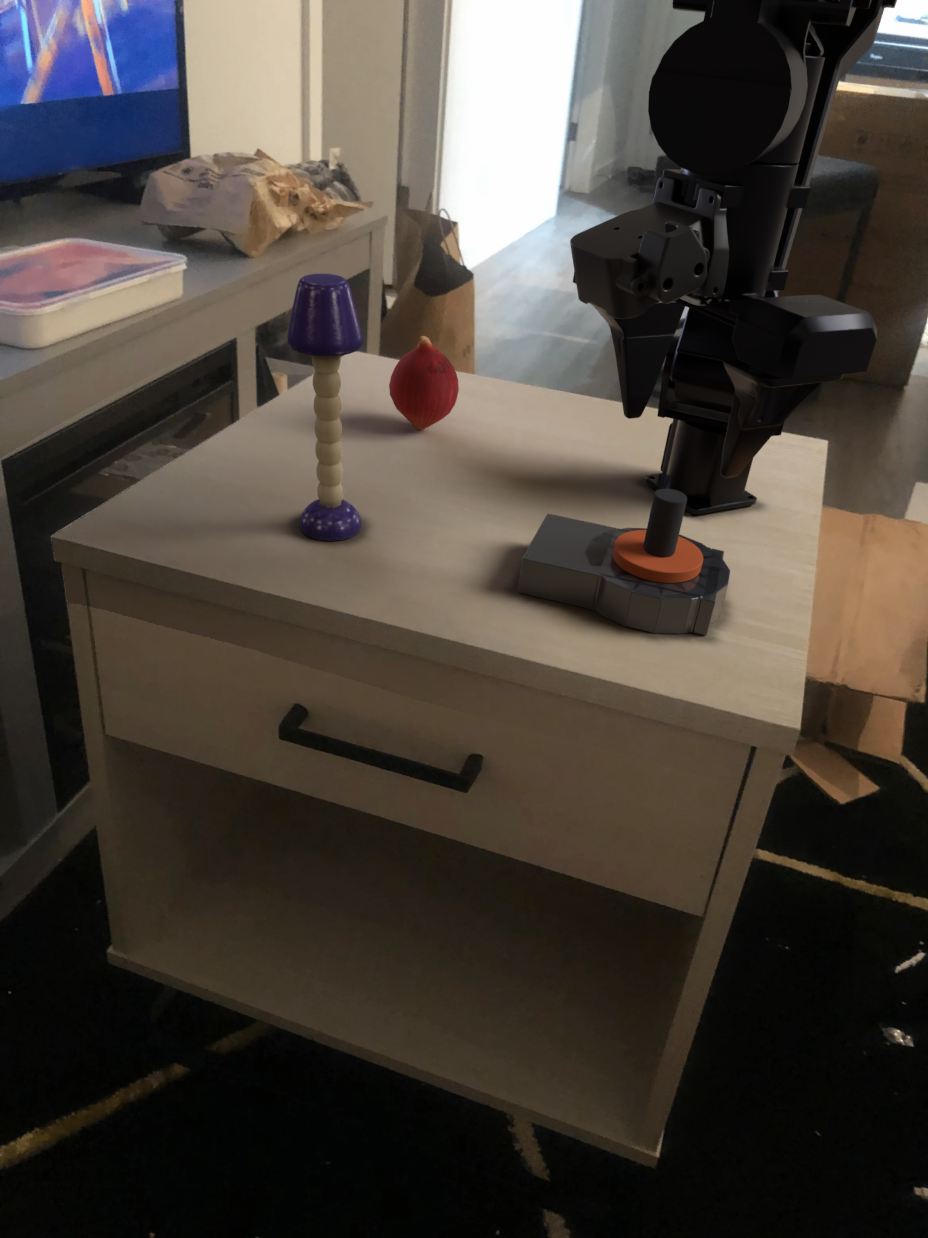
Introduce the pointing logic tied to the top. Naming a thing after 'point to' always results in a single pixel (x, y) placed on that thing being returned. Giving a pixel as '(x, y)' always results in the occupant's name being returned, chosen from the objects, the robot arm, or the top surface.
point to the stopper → (660, 544)
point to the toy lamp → (326, 393)
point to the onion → (424, 385)
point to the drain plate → (618, 579)
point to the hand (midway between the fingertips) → (677, 445)
